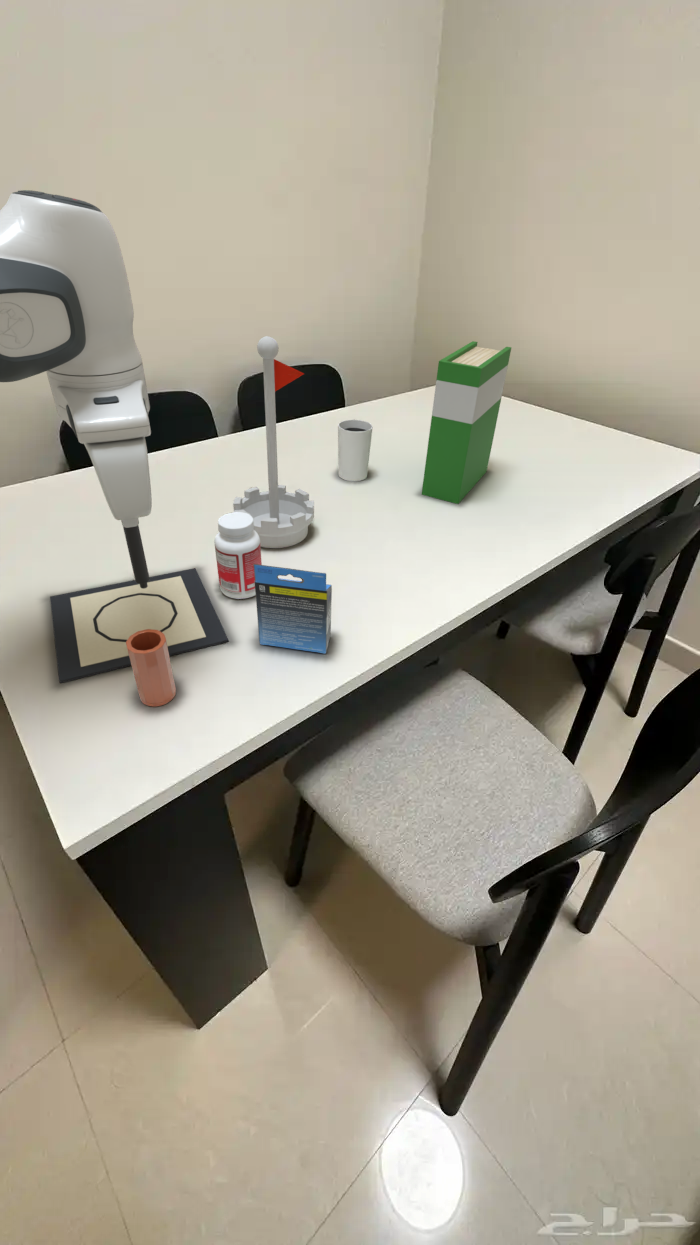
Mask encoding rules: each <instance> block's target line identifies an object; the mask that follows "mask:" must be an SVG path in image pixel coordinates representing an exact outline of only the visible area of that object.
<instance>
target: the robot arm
mask: <svg viewBox="0 0 700 1245" xmlns="http://www.w3.org/2000/svg"><path fill="white" fill-rule="evenodd" d="M130 288H131V287H130V283H129V278H128V274H127V269H126V265H125V261H124V257H123V253H122V250H121V246H120V243H119V239H118V237H117V234H116V232H115V229H114V227H113V225H112V223H111V221H110V219H109V217H108V216H107V215H106V214H105V213H104V212H103V211H102V210H101V209H100V208H99V207H97V206H96V205H94V204H92V203H90V202H87V201H85V200H81V199H77V198H74V197H69V196H64V195H61V194H54V193H53V194H52V193H47V192H43V191H37V190H33V189H32V190H29V189H28V190H27V189H22V190H21V189H20V190H17V191H14V192H12V193H10V195H9V197H8V199H7V201H6V203H5V204H4V206H2V208H1V209H0V383H12V382H18V381H22V380H26V379H29V378H31V377H34V376H37V375H40V374H43V373H45V372H46V375H47V380H48V383H49V387H50V391H51V395H52V398H53V402H54V405H55V409H56V412H57V416H58V417H59V418H60V419H61V420H62V421H64V422H65V423H66V424H67V425H68V426H69V427H70V428H71V429H72V431H73V433H74V435H75V437H76V438H77V440H78V443H80V444H82V445H84V447H85V449H86V452H87V453H88V456H89V458H90V460H91V463H92V466H93V469H94V471H95V474H96V476H97V479H98V482H99V484H100V487H101V490H102V493H103V496H104V498H105V501H106V503H107V506H108V508H109V510H110V513H111V514H112V517H113V518H114V519H115V520H117V521H121V525H122V528H123V527H125V528H129V527H135V526H138V525H139V524H140V520H139V518H144V517H148V516H150V515H151V513H152V509H153V508H152V506H153V497H152V485H151V473H150V463H149V455H148V445H147V441H146V438H147V437H149V436H151V434H152V430H151V424H150V417H149V412H150V410H151V404H150V400H149V399H150V398H149V394H148V393H149V392H148V387H147V386H148V385H147V381H146V375H145V369H144V364H143V358H142V354H141V352H140V350H139V348H138V346H137V343H136V340H135V335H134V318H135V316H134V314H135V311H134V310H135V309H134V305H133V304H134V303H133V299H132V293H131V289H130Z"/></svg>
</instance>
